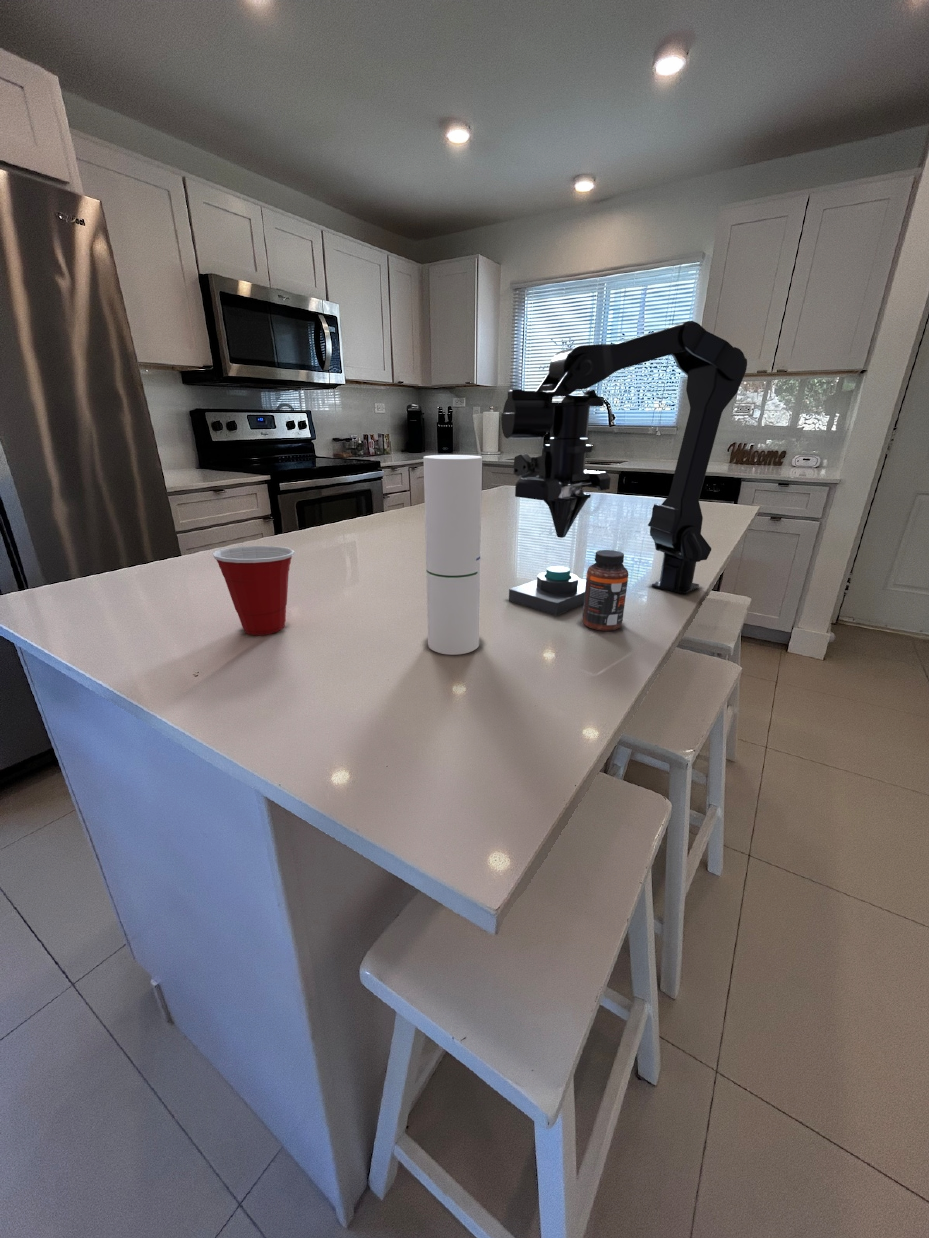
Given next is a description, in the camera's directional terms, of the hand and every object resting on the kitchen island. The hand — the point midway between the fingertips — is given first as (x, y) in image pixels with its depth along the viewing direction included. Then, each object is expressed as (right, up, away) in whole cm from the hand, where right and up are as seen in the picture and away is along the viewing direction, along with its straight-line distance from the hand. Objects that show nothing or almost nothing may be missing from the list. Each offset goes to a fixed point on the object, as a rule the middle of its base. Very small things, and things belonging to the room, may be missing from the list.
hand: (561, 537), depth 85 cm
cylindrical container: (-18, -17, -14) cm, 28 cm away
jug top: (0, -10, +4) cm, 11 cm away
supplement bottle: (+5, -15, -7) cm, 17 cm away
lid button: (0, -7, +3) cm, 7 cm away
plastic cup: (-46, -15, -9) cm, 49 cm away
